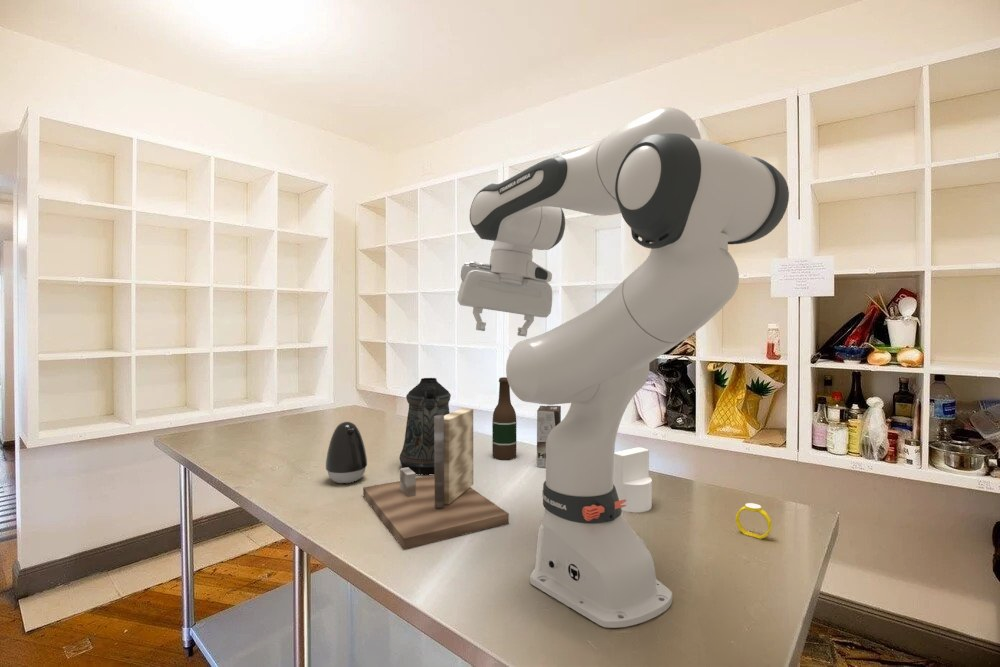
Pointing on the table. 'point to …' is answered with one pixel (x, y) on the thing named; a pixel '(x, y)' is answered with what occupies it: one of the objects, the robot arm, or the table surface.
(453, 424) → the wood grain panel
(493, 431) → the beer bottle
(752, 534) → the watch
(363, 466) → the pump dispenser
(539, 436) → the coffee box
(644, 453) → the base with upright slab
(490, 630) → the table surface
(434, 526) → the wooden board with peg
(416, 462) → the beer stein
